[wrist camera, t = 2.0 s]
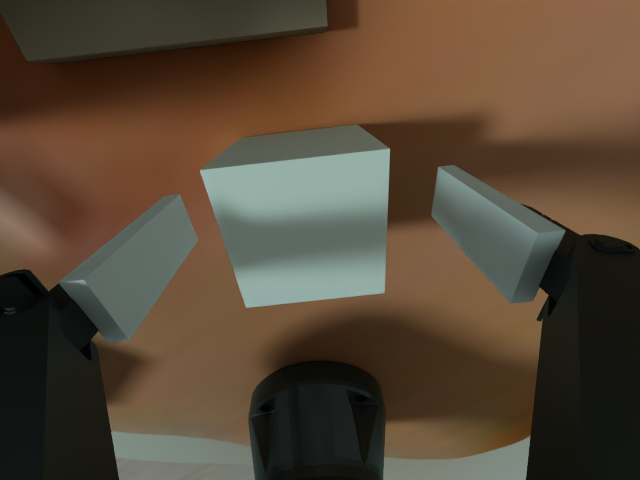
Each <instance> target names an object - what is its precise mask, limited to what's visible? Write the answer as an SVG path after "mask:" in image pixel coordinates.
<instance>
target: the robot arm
mask: <svg viewBox="0 0 640 480" xmlns="http://www.w3.org/2000/svg"><path fill="white" fill-rule="evenodd" d="M431 216H432V217H433V218H434V220H435V221H436V222H437V223H438V224H439V225H440V226H441V227H442V228H443V230H444V231H445V232H446V233H447V234H448V235H449V236H450V237H451V238H452V240H453V241H454V242H455V243H456V244H457V245H458V246H459V247H460V248H461V250H462V251H463V252H464V253H465V254H466V255H467V256H468V257H469V258H470V259H471V261H472V262H473V263H474V264H475V265H476V266H477V267H478V268H479V269H480V271H481V272H482V273H483V274H484V275H485V276H486V277H487V278H488V279H489V281H490V282H491V283H492V284H493V285H494V286H495V287H496V288H497V289H498V291H499V292H500V293H501V294H502V295H503V296H504V297H505V298H506V299H507V301H508V302H509V303H519V302H530V301H533V300H534V298H535V296H536V294H537V291H538V289H539V287H540V288H541V289H543V290H544V291H545V292H546V293H547V294H548V295H549V296H548V298H547V300H546V302H545V304H544V306H543V308H542V310H541V312H540V314H539V316H538V318H537V320H538V321H541V320H542V319H543V322H542V332H541V341H540V351H539V360H538V370H537V380H536V389H535V399H534V409H533V418H532V428H531V437H530V447H529V457H528V466H527V476H526V480H640V250H639V248H638V247H636V246H634V245H632V244H631V243H629V242H626V241H623V240H621V239H618V238H614V237H610V236H606V235H597V234H584V235H579V234H577V233H575V232H574V231H572V230H570V229H568V228H567V227H565V226H563V225H561V224H560V223H558V222H556V221H554V220H551V218H549V217H547V216H546V215H542V213H540V212H539V211H537V210H535V209H533V208H532V207H529V206H526V205H523V204H520V203H518V202H516V201H514V200H513V199H511V198H509V197H508V196H506V195H504V194H502V193H501V192H499V191H497V190H496V189H494V188H492V187H491V186H489V185H487V184H485V183H484V182H482V181H480V180H479V179H477V178H475V177H473V176H472V175H470V174H468V173H467V172H465V171H463V170H462V169H460V168H458V167H456V166H455V165H448V166H439V167H438V172H437V179H436V186H435V193H434V200H433V207H432V214H431ZM197 241H198V238H197V236H196V233H195V231H194V228H193V226H192V223H191V221H190V219H189V216H188V214H187V211H186V209H185V206H184V204H183V201H182V199H181V196H180V194H179V195H170V196H164V197H163V198H162V199H161V200H159V201H158V202H157V203H156V204H154V205H153V206H152V207H151V208H149V209H148V210H147V211H146V212H145V213H143V214H142V215H141V216H140V217H138V218H137V219H136V220H135V221H133V222H132V223H131V224H130V225H128V226H127V227H126V228H125V229H123V230H122V231H121V232H120V233H119V234H117V235H116V236H115V237H114V238H112V239H111V240H110V241H109V242H107V243H106V244H105V245H104V246H102V247H101V248H100V249H99V250H97V251H96V252H95V253H94V254H93V255H91V256H90V257H89V258H88V259H86V260H85V261H84V262H83V263H81V264H80V265H79V266H78V267H76V268H75V269H74V270H73V271H71V272H70V273H69V274H68V275H67V276H65V277H64V278H63V279H62V280H60V281H59V282H58V283H59V284H57V285H56V286H55V287H54V288H52V289H51V290H50V291H48V290H47V289H46V288H45V287H44V286H43V285H42V283H41V282H40V281H39V280H38V279H37V278H36V276H35V275H34V274H33V273H32V272H31V271H30V270H25V269H23V270H17V271H13V272H9V273H6V274H3V275H0V480H119V476H118V470H117V465H116V459H115V453H114V447H113V442H112V435H111V429H110V423H109V417H108V411H107V405H106V399H105V393H104V387H103V381H102V375H101V369H100V364H99V358H98V352H97V347H96V346H95V344H94V343H93V342H92V341H91V339H92V338H93V337H94V335H95V334H96V333H97V332H98V331H99V332H100V334H101V335H102V336H103V337H104V338H105V340H106V341H107V342H117V341H127V340H130V339H131V337H132V336H133V334H134V333H135V331H136V330H137V328H138V327H139V326H140V324H141V323H142V321H143V320H144V318H145V317H146V315H147V314H148V312H149V311H150V310H151V308H152V307H153V305H154V304H155V302H156V301H157V299H158V298H159V296H160V295H161V294H162V292H163V291H164V289H165V288H166V286H167V285H168V283H169V282H170V281H171V279H172V278H173V276H174V275H175V273H176V272H177V270H178V269H179V267H180V266H181V265H182V263H183V262H184V260H185V259H186V257H187V256H188V254H189V253H190V251H191V250H192V249H193V247H194V246H195V244H196V243H197ZM248 423H249V432H250V441H251V449H252V457H253V466H254V474H255V480H383V468H384V446H385V424H386V411H385V405H384V401H383V397H382V393H381V389H380V387H379V385H378V383H377V382H376V380H375V379H374V378H373V377H371V376H370V375H369V374H367V373H366V372H364V371H362V370H360V369H357V368H355V367H352V366H348V365H344V364H338V363H328V362H315V363H305V364H299V365H295V366H291V367H287V368H285V369H282V370H279V371H277V372H275V373H273V374H271V375H270V376H268V377H267V378H265V379H264V380H263V381H262V382H260V384H259V385H258V386H257V387H256V389H255V390H254V392H253V395H252V399H251V405H250V411H249V421H248Z"/></svg>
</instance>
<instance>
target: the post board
mask: <svg viewBox="0 0 640 480" xmlns="http://www.w3.org/2000/svg"><path fill="white" fill-rule="evenodd" d="M0 14H1V16H2V17H3V19H4V21H5V23H6V24H7V26H8V28H9V30H10V32H11V33H12V35H13V37H14V39H15V41H16V42H17V44H18V46H19V48H20V49H21V51H22V53H23V55H24V57H25V58H26V60H27V61H29V62H40V63H51V64H56V63H65V62H73V61H82V60H91V59H99V58H108V57H116V56H125V55H133V54H142V53H150V52H159V51H167V50H176V49H184V48H193V47H201V46H210V45H218V44H227V43H236V42H244V41H253V40H261V39H270V38H278V37H287V36H295V35H304V34H312V33H321V32H326V29H327V27H328V22H327V7H326V0H0Z"/></svg>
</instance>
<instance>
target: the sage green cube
mask: <svg viewBox="0 0 640 480" xmlns="http://www.w3.org/2000/svg"><path fill="white" fill-rule="evenodd" d="M389 164H390V148H388V147H387V146H386V145H384V144H383V143H382V142H380V141H379V140H378V139H376V138H375V137H374V136H372V135H371V134H369V133H368V132H367V131H365V130H364V129H363V128H361V127H360V126H359V125H348V126H339V127H330V128H322V129H313V130H304V131H295V132H286V133H278V134H269V135H260V136H251V137H242V138H240V139H238V140H237V141H236V142H235V143H233V144H232V145H231V146H230V147H228V148H227V149H226V150H225V151H223V152H222V153H221V154H220V155H218V156H217V157H216V158H214V159H213V160H212V161H211V162H209V163H208V164H207V165H206V166H204V167H203V168H202V169H201V170H200V172H201V175H202V178H203V181H204V184H205V187H206V190H207V193H208V196H209V199H210V202H211V205H212V208H213V211H214V214H215V217H216V220H217V223H218V226H219V229H220V232H221V235H222V238H223V241H224V243H225V246H226V249H227V252H228V255H229V258H230V261H231V264H232V267H233V270H234V273H235V276H236V279H237V282H238V285H239V288H240V291H241V294H242V297H243V300H244V303H245V306H246V308H249V307H258V306H268V305H277V304H286V303H296V302H305V301H314V300H324V299H333V298H342V297H352V296H361V295H370V294H380V293H385V269H386V243H387V216H388V190H389Z"/></svg>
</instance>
